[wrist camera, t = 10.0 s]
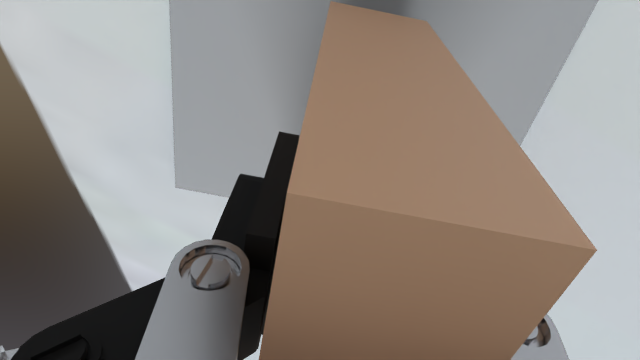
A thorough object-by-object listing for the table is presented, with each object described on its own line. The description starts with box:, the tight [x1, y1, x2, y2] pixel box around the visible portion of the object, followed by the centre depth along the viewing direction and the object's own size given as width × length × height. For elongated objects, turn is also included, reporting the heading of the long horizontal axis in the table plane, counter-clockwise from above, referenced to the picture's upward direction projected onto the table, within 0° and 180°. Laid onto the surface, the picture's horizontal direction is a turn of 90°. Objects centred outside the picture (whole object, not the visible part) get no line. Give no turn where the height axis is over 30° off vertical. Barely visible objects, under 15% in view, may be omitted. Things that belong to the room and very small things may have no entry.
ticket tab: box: [259, 1, 597, 360], centre depth 10 cm, size 3×8×10 cm, turn 170°
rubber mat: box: [169, 0, 598, 197], centre depth 16 cm, size 14×11×1 cm
